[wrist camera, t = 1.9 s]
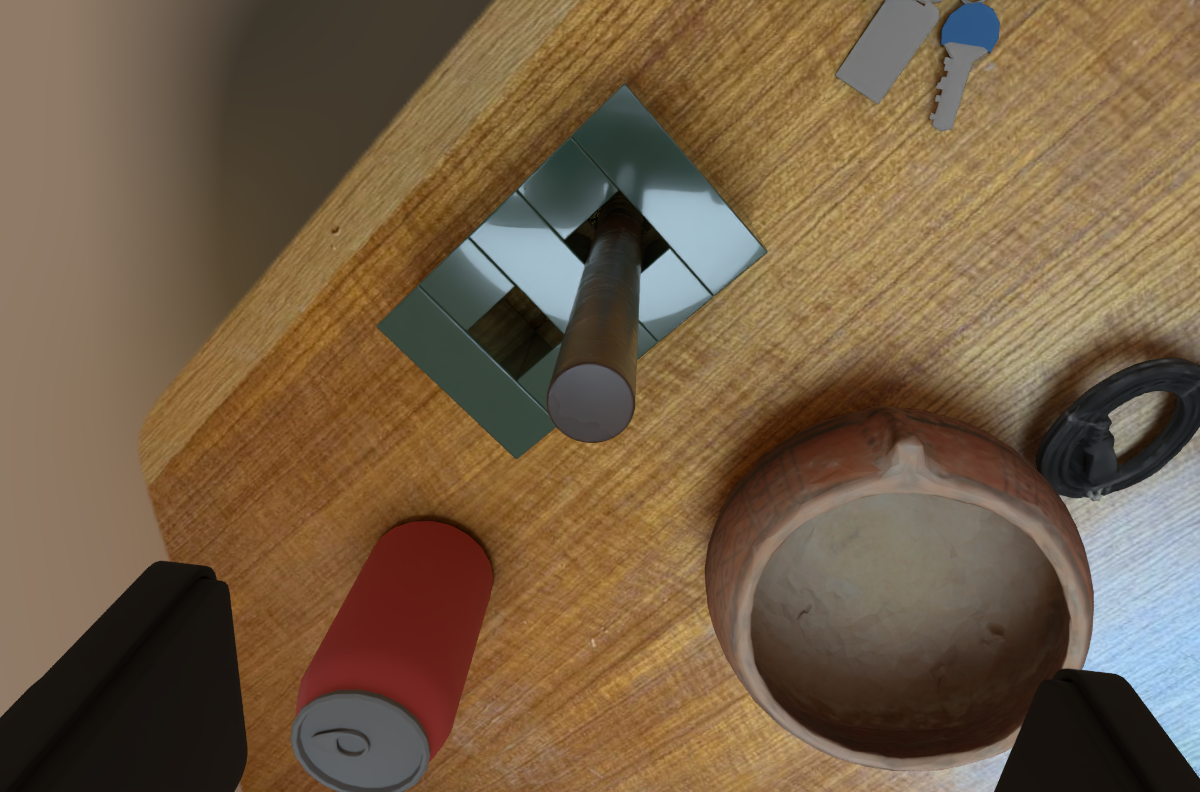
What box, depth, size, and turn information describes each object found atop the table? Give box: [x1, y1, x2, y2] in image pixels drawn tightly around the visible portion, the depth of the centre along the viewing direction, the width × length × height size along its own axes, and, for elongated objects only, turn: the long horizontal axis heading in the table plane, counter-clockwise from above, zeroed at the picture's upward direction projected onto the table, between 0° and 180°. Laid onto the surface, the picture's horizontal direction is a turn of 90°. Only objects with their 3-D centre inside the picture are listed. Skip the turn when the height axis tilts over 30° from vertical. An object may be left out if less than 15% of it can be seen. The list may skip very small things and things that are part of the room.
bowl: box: [705, 404, 1094, 771], centre depth 35 cm, size 16×16×10 cm
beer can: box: [290, 521, 493, 792], centre depth 37 cm, size 7×7×12 cm
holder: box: [377, 77, 768, 459], centre depth 32 cm, size 13×8×6 cm, turn 133°
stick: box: [546, 191, 643, 443], centre depth 25 cm, size 2×2×20 cm
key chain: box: [835, 0, 1000, 131], centre depth 30 cm, size 14×8×1 cm, turn 109°
